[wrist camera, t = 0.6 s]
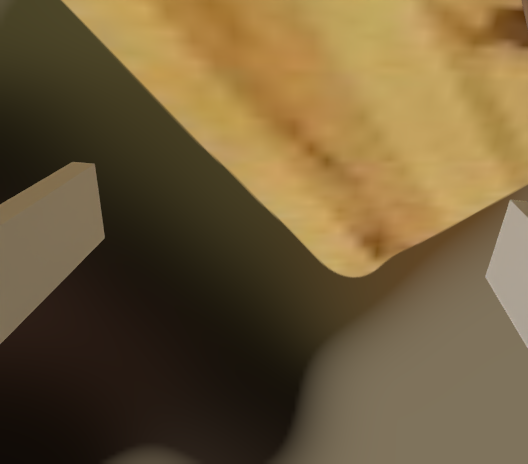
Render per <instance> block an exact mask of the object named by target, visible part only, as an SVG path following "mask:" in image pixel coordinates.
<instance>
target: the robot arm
mask: <svg viewBox="0 0 528 464" xmlns="http://www.w3.org/2000/svg"><path fill="white" fill-rule="evenodd" d="M104 238H105V236H104V229H103V222H102V215H101V208H100V200H99V192H98V186H97V178H96V170H95V164H91V163H78V162H72V163H70V164H68V165H67V166H65V167H63V168H62V169H60V170H58V171H56V172H55V173H53V174H52V175H50V176H48V177H46V178H45V179H43V180H41V181H39V182H38V183H36V184H34V185H33V186H31V187H29V188H28V189H26V190H24V191H22V192H21V193H19V194H18V195H16V196H14V197H12V198H11V199H9V200H7V201H6V202H4V203H2V204H1V205H0V344H1V342H3V341H4V340H5V339H6V338H7V337H8V336H9V335H10V333H11V332H13V330H14V329H15V328H16V327H17V326H18V325H19V324H20V323H21V322H22V321H23V320H24V319H25V318H26V317H27V316H28V315H29V314H30V313H31V312H32V311H33V310H34V309H35V308H36V307H37V306H38V305H39V304H40V303H41V302H42V301H43V300H44V299H45V298H46V297H47V296H48V295H49V294H50V293H51V292H52V291H53V290H54V289H55V288H56V287H57V286H58V285H59V284H60V283H61V282H62V281H63V280H64V279H65V278H66V277H67V276H68V275H69V274H70V273H71V272H72V271H73V270H74V269H75V267H76V266H77V265H78V264H79V263H80V262H81V261H82V260H83V259H84V258H85V257H86V256H87V255H88V254H89V253H90V252H91V251H92V250H93V249H94V248H95V247H96V246H97V245H98V244H99V243H100V242H101V241H102V240H103V239H104ZM485 277H486V279H487V280H488V282H489V284H490V286H491V287H492V289H493V291H494V292H495V294H496V296H497V297H498V299H499V301H500V302H501V304H502V306H503V308H504V309H505V311H506V312H507V314H508V316H509V318H510V319H511V321H512V322H513V324H514V326H515V328H516V329H517V331H518V333H519V334H520V336H521V338H522V339H523V341H524V343H525V344H526V346H527V348H528V201H519V200H510V202H509V205H508V208H507V211H506V215H505V218H504V221H503V224H502V227H501V230H500V233H499V236H498V239H497V242H496V246H495V249H494V252H493V255H492V258H491V261H490V264H489V267H488V270H487V273H486V276H485Z"/></svg>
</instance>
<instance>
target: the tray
mask: <svg viewBox="0 0 528 464" xmlns="http://www.w3.org/2000/svg"><path fill="white" fill-rule="evenodd" d="M522 4H523V9H524V13H525V18H526V23H527V28H528V0H522Z"/></svg>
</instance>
